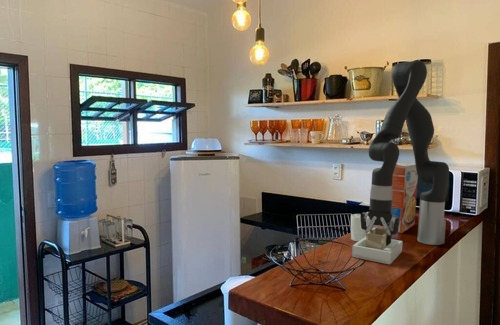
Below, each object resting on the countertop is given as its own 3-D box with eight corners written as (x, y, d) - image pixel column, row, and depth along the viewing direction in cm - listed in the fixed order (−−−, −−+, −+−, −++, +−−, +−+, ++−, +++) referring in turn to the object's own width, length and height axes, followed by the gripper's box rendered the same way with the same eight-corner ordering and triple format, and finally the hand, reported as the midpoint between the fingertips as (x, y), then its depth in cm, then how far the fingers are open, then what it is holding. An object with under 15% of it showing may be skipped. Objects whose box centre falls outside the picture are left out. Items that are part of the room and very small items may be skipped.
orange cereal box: (401, 233, 173) (405, 166, 171) (383, 230, 178) (387, 164, 176) (414, 224, 192) (418, 163, 189) (397, 221, 196) (401, 162, 194)
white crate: (367, 245, 153) (367, 235, 153) (401, 251, 146) (402, 241, 146) (352, 256, 138) (352, 245, 138) (389, 264, 131) (390, 252, 131)
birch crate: (373, 240, 148) (374, 227, 148) (390, 243, 145) (391, 230, 144) (365, 247, 139) (366, 233, 138) (382, 250, 136) (383, 236, 135)
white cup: (345, 238, 162) (346, 214, 161) (361, 236, 165) (362, 213, 165) (358, 243, 155) (359, 218, 154) (373, 241, 158) (375, 217, 157)
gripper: (357, 196, 141) (355, 242, 143) (399, 201, 133) (396, 249, 135) (364, 194, 147) (361, 237, 149) (404, 198, 140) (401, 244, 141)
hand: (378, 243), depth 142 cm, fingers closed on birch crate, 6 cm apart
